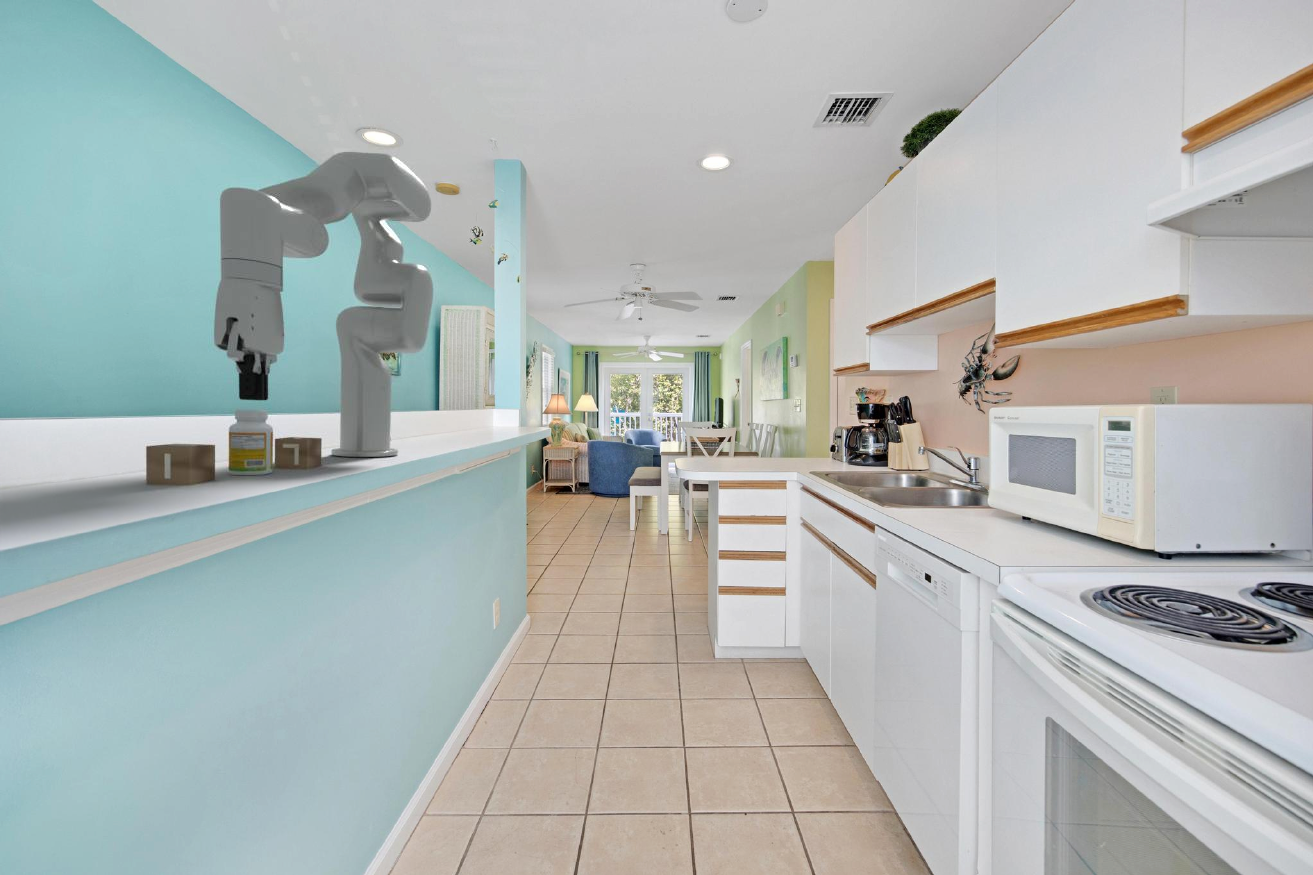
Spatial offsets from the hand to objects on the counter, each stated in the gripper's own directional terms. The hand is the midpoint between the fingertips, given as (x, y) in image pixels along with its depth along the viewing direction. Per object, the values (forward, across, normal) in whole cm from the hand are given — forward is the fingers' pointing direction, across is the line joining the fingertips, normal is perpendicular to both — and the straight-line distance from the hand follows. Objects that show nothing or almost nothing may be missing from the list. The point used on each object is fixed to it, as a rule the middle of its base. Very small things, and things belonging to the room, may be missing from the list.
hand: (253, 399), depth 83 cm
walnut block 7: (+12, -9, +2) cm, 15 cm away
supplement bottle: (+12, +1, 0) cm, 12 cm away
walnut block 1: (+11, +11, -3) cm, 16 cm away
